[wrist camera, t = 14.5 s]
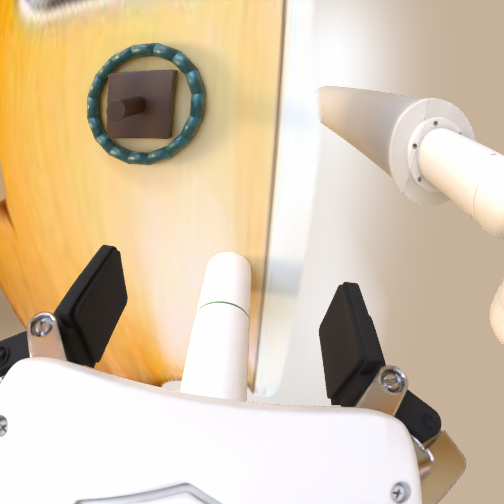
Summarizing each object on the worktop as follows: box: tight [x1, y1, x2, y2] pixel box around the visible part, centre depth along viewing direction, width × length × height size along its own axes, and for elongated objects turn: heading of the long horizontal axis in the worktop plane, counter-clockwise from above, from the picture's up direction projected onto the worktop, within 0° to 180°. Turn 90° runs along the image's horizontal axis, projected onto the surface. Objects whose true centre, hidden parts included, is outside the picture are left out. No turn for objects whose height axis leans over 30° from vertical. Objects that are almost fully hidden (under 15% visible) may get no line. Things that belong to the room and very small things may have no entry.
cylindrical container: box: [180, 252, 252, 401], centre depth 35 cm, size 7×7×25 cm
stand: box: [106, 70, 177, 139], centre depth 27 cm, size 9×9×8 cm
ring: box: [87, 43, 205, 165], centre depth 30 cm, size 17×17×2 cm
